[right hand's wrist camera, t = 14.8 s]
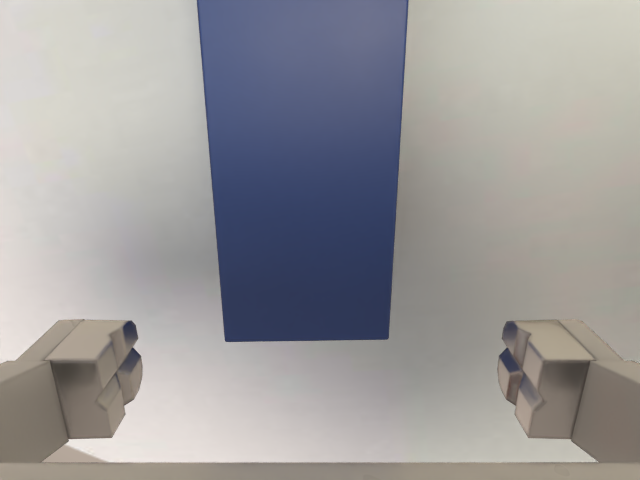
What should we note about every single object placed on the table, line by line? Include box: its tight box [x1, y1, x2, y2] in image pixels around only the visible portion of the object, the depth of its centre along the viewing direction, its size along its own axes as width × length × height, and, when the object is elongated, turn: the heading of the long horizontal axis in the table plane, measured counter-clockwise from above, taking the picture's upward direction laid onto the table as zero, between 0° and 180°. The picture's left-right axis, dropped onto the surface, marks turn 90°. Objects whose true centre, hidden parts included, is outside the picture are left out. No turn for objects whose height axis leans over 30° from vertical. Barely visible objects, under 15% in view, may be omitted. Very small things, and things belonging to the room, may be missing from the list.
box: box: [197, 0, 408, 342], centre depth 19 cm, size 21×6×10 cm, turn 0°
